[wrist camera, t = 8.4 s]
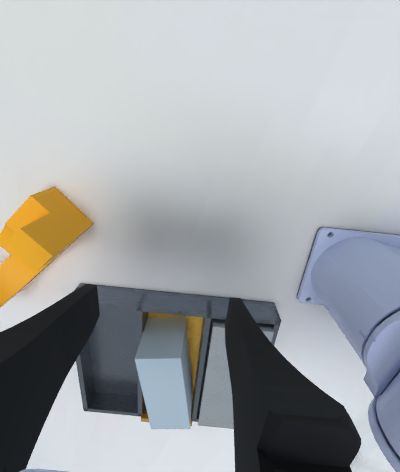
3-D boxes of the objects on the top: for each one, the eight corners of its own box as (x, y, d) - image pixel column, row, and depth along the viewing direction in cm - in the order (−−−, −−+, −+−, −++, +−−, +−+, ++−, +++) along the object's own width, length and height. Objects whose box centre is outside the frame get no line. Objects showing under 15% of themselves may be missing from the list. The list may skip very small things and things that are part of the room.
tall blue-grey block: (185, 316, 25) (180, 358, 21) (193, 381, 29) (190, 429, 24) (147, 317, 25) (134, 359, 21) (160, 382, 29) (151, 428, 25)
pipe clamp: (55, 186, 21) (-4, 208, 15) (94, 222, 22) (52, 256, 16) (-16, 262, 24) (-89, 304, 18) (21, 289, 26) (-36, 337, 20)
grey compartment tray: (274, 302, 25) (283, 327, 22) (246, 404, 31) (250, 434, 28) (80, 283, 25) (61, 305, 22) (93, 389, 31) (80, 418, 28)
